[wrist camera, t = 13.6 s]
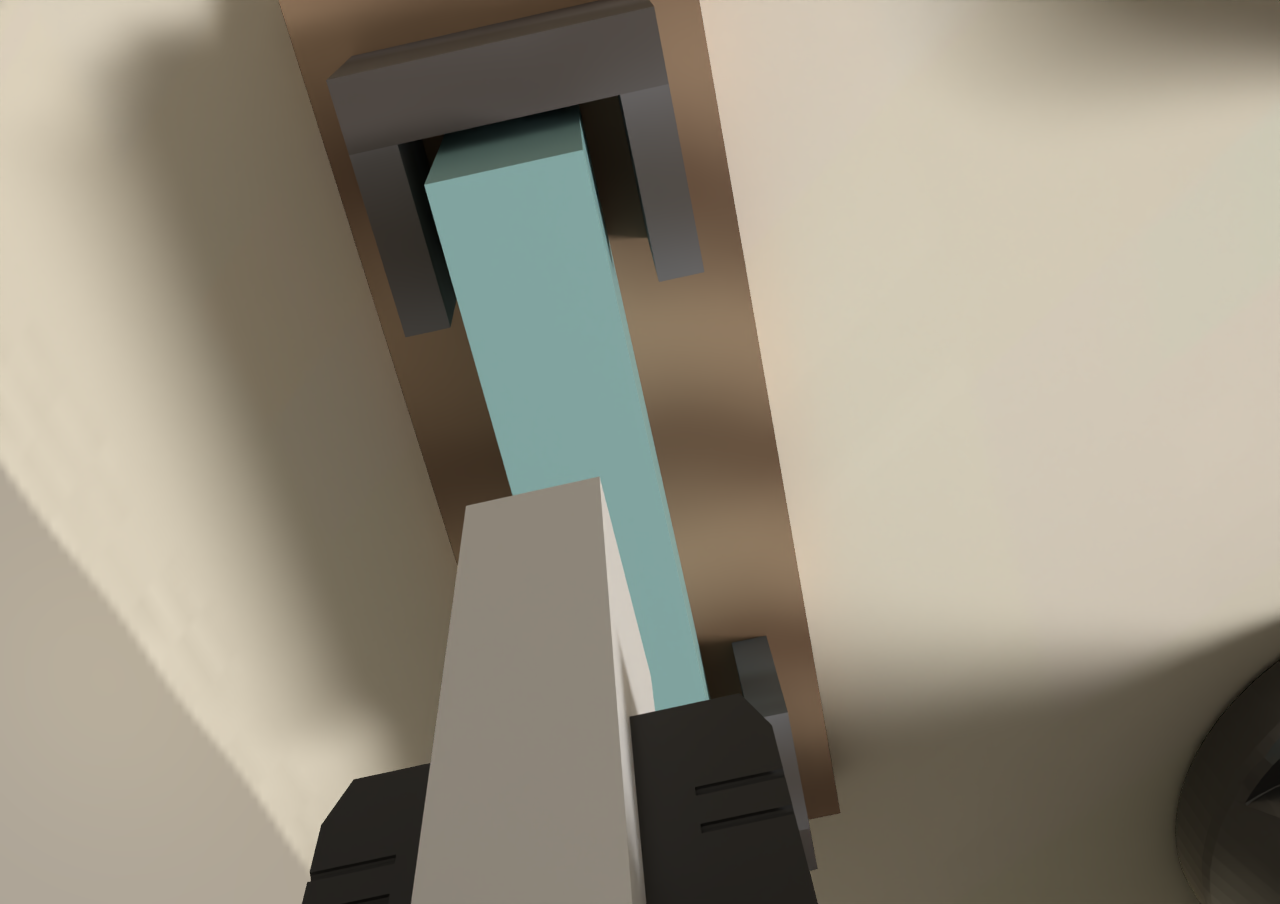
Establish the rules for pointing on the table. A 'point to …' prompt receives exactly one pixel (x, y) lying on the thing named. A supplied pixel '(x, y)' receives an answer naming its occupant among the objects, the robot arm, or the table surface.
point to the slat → (562, 353)
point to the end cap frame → (647, 275)
